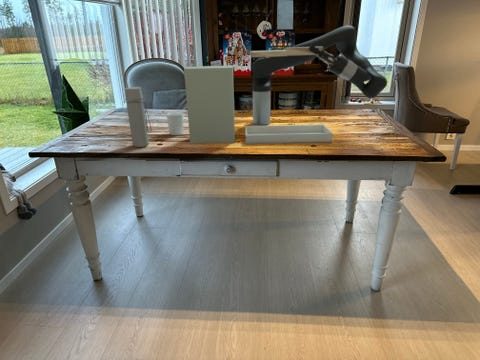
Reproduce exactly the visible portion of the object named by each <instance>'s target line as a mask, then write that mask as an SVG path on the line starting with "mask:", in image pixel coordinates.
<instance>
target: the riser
mask: <svg viewBox="0 0 480 360" xmlns="http://www.w3.org/2000/svg"><path fill="white" fill-rule="evenodd" d="M183 74H184V88H185V97H186V108H187V109H186V110H187V122H188V133H189V143H190V144H218V143H219V144H220V143H221V144H223V143H236V142H235V141H236V139H235V138H236V127H235V126H236V125H235V95H234V93H235V91H234V66H233V65H208V66H207V65H205V66H204V65H203V66H202V65H201V66H187V67H184V68H183Z"/></svg>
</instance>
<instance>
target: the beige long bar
mask: <svg viewBox="0 0 480 360" xmlns="http://www.w3.org/2000/svg"><path fill="white" fill-rule="evenodd" d="M309 48H310V47H293V46H292V48H291V47H285V49H282V50H281V49H278V50H277V49H276V50H272V49H271V50H250V52H249V53H250V54H249V56H250V58H267V57H273V56H294V55H316V54H314V53H313V52H311V51H309ZM316 48H318V49H321V50H322V51H324V50H323V47H316Z"/></svg>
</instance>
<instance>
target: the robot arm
mask: <svg viewBox="0 0 480 360" xmlns="http://www.w3.org/2000/svg"><path fill="white" fill-rule="evenodd" d="M333 45H335V46H336V48H337V50H338V51H339V53H340V54H337V55H336V56H335V57H334V55H333V54H332V53H329V52H327V51H326V49H327V48H329V47H331V46H333ZM292 47H310V48H309V51H311V52H313V53H314V54H316V55H294V56H273V57H257V59H256V60H255V61H254V62H253V64H252V66H251V70H252V124H253V125H255V126H267V125H269V123H271V86H272V84H271V83H272V82H271V79H272V74H273V73H276V72H279V71H280V70H284V69H288V68H292V67H296V66H299V65H303V64H305V63H309V62H311V61H313V60H314V59H316V57H317V58H318V59H319V60H321V62H323V63H325V64H326V65H329V71H330V72H332V74H335V75H336V76H337V77H339V78H341V79H343V80H346V81H348V82H349V83H351V84H352V85H354V86H355V87H356V88H357V89H359V91H360V92H361V93H362V94H363V96H365V97H366V98H368V99H375V98H376V97H377V96H379V94H381V93H382V92H383V90H384V89H385V88H386V87H387V85H388V80H387V78H386V77H385V76H384V75H383V74H381V73H380V72H378V71H377V70H376V69H375V68H374V67H373V65H372V64H371V61H370V60H369V59H368V58H367V57H366V56H364V55H363V54H361V53H360V51H359V49H358V47H357V32H356V28H355V26H352V25H343V26H340V27H338V28H336V29H333V30H332V31H329V32H327V33H325V34H323V35H321V36H318V37H315V38H313V39H310V40H307V41H305V42H302V43H299V44H296V45H293V46H292ZM292 47H290V48H292ZM316 47H323V51H322V50H321V49H318V48H316ZM266 124H267V125H266Z"/></svg>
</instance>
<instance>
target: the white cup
mask: <svg viewBox="0 0 480 360" xmlns="http://www.w3.org/2000/svg"><path fill="white" fill-rule="evenodd" d="M166 119H167V125H168V132H169V134H170V135H171V136H180V135H183V134H184V112H182V111H172V112H171V111H169V112H168V113H166Z"/></svg>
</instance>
